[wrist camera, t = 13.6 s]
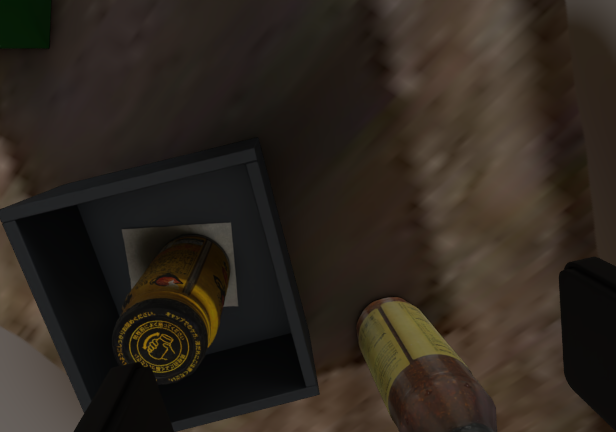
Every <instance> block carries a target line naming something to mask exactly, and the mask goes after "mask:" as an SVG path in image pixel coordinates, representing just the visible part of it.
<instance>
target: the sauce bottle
mask: <svg viewBox="0 0 616 432" xmlns="http://www.w3.org/2000/svg"><path fill="white" fill-rule="evenodd" d="M356 328H357V338H358V341H359V347H360V349H361V352H362V354H363V356H364V359H365V361H366V363H367V365H368V367H369V370H370V372H371V374H372V377H373V379H374V381H375V383H376V385H377V388H378V390H379V392H380V394H381V397H382V399H383V401H384V403H385V405H386V407H387V410H388V412H389V414H390V416H391V418H392V420H393V421H394V423H395V424H396V426H397V427H398V429H399V431H400V432H497V424H496V407H495V405H494V402H493V400H492V399H491V397H490V396H489V395H488V394H487V393H486V391H485V390H484V389H483V387H482V386H481V385H480V384H479V382H478V381H477V380H476V379H475V378H474V377H473V375H472V373H471V371H470V370H469V368H468V367H467V366H466V365H465V364H464V362H463V361H462V360H461V359H460V358H459V356H458V355H457V354H456V353H455V352H454V351H453V349H452V348H451V347H450V346H449V345H448V344H447V342H446V341H445V340H444V339H443V338H442V336H441V335H440V334H439V333H438V332H437V330H436V329H435V328H434V327H433V325H432V324H431V323H430V322H429V321H428V319H427V318H426V317H425V316H424V315H423V313H422V312H421V311H420V310H419V309H418V308H416V307H415V306H413V305H411V304H410V303H409V302H407V301H405V300H404V299H402V298H399V297H388V298H383V299H380V300H376V301H374V302H372V303H371V304H369V305H368V306H367V307H366V308H365V309H364V310H363V312H362V314H361V316H360V317H359V319H358V322H357V325H356Z"/></svg>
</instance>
